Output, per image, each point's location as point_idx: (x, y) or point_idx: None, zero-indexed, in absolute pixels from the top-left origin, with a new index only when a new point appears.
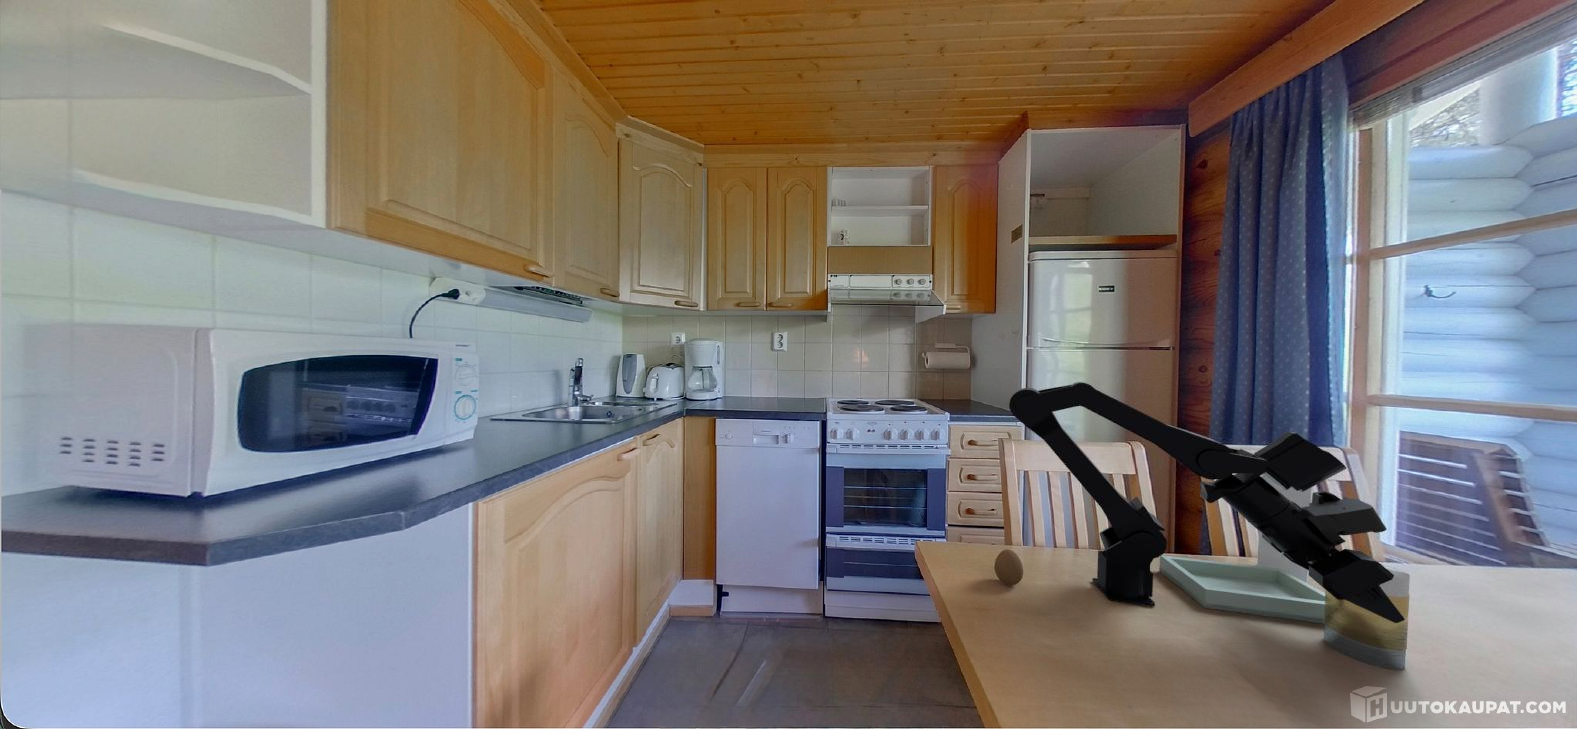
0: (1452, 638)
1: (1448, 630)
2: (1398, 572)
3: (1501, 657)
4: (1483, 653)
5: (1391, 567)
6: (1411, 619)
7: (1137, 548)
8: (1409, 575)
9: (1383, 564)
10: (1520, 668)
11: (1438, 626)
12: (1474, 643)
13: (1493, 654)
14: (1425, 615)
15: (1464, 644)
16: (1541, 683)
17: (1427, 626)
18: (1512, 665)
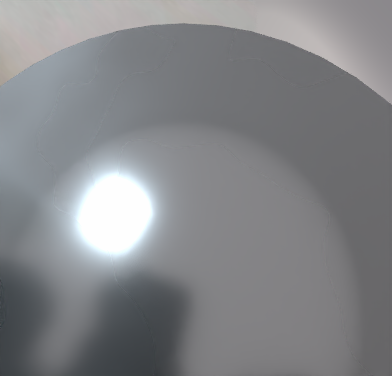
0: (126, 26)
1: (100, 10)
2: (268, 110)
3: (176, 3)
4: (169, 20)
5: (133, 67)
6: (70, 38)
7: None
8: (323, 60)
9: (74, 81)
10: (206, 4)
11: (88, 15)
12: (137, 6)
13: (168, 7)
14: (54, 4)
15: (143, 24)
16: (250, 13)
17: (91, 32)
18: (199, 8)
